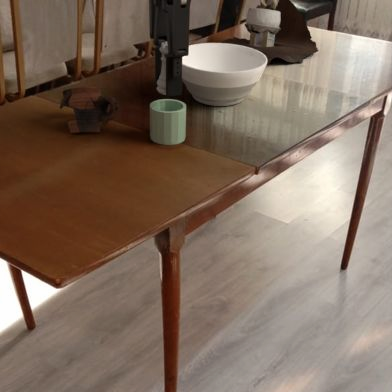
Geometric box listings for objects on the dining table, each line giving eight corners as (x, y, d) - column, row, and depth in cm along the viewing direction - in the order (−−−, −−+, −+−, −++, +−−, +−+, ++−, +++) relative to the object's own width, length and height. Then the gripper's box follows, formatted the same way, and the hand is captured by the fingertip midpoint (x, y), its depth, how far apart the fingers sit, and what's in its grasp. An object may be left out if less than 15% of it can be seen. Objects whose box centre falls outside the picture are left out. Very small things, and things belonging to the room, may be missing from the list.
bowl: (217, 75, 145) (219, 37, 139) (282, 99, 135) (287, 59, 129) (154, 94, 134) (153, 54, 129) (219, 122, 124) (221, 79, 119)
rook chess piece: (163, 85, 114) (163, 38, 109) (185, 89, 113) (186, 42, 108) (151, 92, 111) (151, 44, 106) (174, 97, 110) (174, 49, 105)
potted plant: (215, 59, 161) (230, -55, 151) (267, 66, 173) (283, -38, 163) (270, 65, 148) (290, -58, 138) (321, 73, 159) (343, -40, 149)
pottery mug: (54, 136, 118) (48, 89, 116) (78, 140, 126) (73, 97, 125) (112, 127, 114) (106, 79, 112) (132, 133, 123) (128, 88, 121)
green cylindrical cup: (157, 147, 114) (157, 114, 111) (145, 133, 119) (144, 101, 115) (190, 142, 117) (191, 109, 113) (177, 128, 121) (177, 97, 117)
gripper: (214, -56, 92) (207, 104, 107) (170, -75, 104) (169, 72, 119) (167, -54, 89) (166, 110, 105) (127, -74, 101) (132, 76, 117)
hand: (168, 89), depth 112 cm, fingers closed on rook chess piece, 4 cm apart
